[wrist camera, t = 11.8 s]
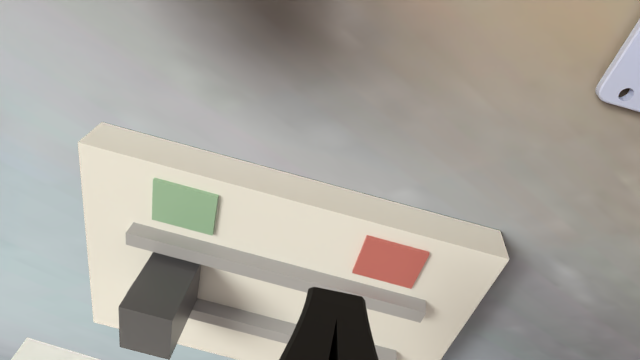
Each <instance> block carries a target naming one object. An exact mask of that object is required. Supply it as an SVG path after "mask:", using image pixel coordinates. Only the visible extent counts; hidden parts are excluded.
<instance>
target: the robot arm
mask: <svg viewBox="0 0 640 360" xmlns="http://www.w3.org/2000/svg"><path fill="white" fill-rule="evenodd" d="M626 88H629V92H628V93H627V94H626V95H625V96H622V97H618V96H619V93H620V92H621V91H622V90H623V89H626ZM596 94H597V96H598V97H599V98H600V99H601V100H602V101H604V102H606V103H610V104H613V105H617V106H620V107H624V108H627V109H631V110H634V111H638V112H640V19H639V21H638V22H637V24H636V25H635V27H634V28H633V30H632V31H631V33H630V35H629V36H628V38H627V39H626V41H625V42H624V44H623V45H622V47H621V49H620V50H619V52H618V53H617V55H616V56H615V58H614V60H613V61H612V63H611V64H610V66H609V67H608V69H607V70H606V72H605V74H604V75H603V77H602V78H601V80H600V81H599V83H598V85H597V87H596ZM279 360H379V359H378V356H377V352H376V349H375V345H374V341H373V337H372V333H371V329H370V324H369V320H368V315H367V309H366V303H365V300H364V298H363V297H362V296H357V295H352V294H347V293H343V292H338V291H333V290H328V289H323V288H318V287H311V288H309V289H308V292H307V296H306V301H305V304H304V307H303V310H302V313H301V315H300V318H299V320H298V322H297V325H296V327H295V329H294V331H293V334H292V336H291V338H290V340H289V342H288V343H287V345H286V347H285V349H284V351H283V353H282V355H281V357H280V359H279Z"/></svg>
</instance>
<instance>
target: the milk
mask: <svg viewBox="0 0 640 360" xmlns="http://www.w3.org/2000/svg"><path fill="white" fill-rule="evenodd" d="M11 360H100V359H97V358H93V357H90V356H87V355H84V354H80V353H77V352H74V351H70V350H67V349H64V348H60V347H57V346H54V345H50V344H47V343H44V342H41V341H37V340H34V339H31V338H26V340H25V341H24V343H23V344H22V345H21V347H20V348H19V349H18V351H17V352H16V354H15V355H14V356H13V358H12V359H11Z"/></svg>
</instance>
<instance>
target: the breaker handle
mask: <svg viewBox="0 0 640 360" xmlns="http://www.w3.org/2000/svg"><path fill="white" fill-rule="evenodd" d="M200 271H201V264H197V263H193V262H189V261H186V260H182V259H178V258H174V257H170V256H167V255H163V254H159V253H155V252H153V253H152V255H151V256H150V258H149V259H148V261H147V262H146V264H145V266H144V267H143V269H142V270H141V272H140V274H139V275H138V277H137V278H136V280H135V281H134V283H133V285H132V286H131V288H130V289H129V291H128V292H127V294H126V296H125V297H124V299H123V300H122V302H121V303H120V305H119V307H118V309H119V337H120V347H122V348H126V349H130V350H134V351H138V352H142V353H145V354H149V355H153V356H157V357H161V358H165V359H169V360H170V358H171V355H172V353H173V351H174V349H175V347H176V344H177V342H178V340H179V338H180V336H181V333H182V331H183V329H184V327H185V325H186V323H187V320H188V318H189V316H190V314H191V312H192V309H193V307H194V305H195V303H196V301H197V296H198V288H199V280H200Z"/></svg>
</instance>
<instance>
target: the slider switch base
mask: <svg viewBox="0 0 640 360" xmlns="http://www.w3.org/2000/svg"><path fill="white" fill-rule="evenodd" d="M78 150H79V162H80V173H81V184H82V196H83V207H84V218H85V230H86V241H87V252H88V263H89V275H90V286H91V297H92V309H93V320H94V322H95V323H99V324H103V325H106V326H110V327H114V328H118V329H119V309H118V307H119V305H120V303H121V302H122V300H123V299H124V297H125V296H126V294H127V292H128V291H129V289H130V288H131V286H132V285H133V283H134V281H135V280H136V278H137V277H138V275H139V274H140V272H141V270H142V269H143V267H144V266H145V264H146V262H147V261H148V259H149V258H150V256H151V255H152V253H153V252H155V253H159V254H163V255H167V256H170V257H174V258H178V259H182V260H186V261H189V262H193V263H197V264H201V271H200V280H199V288H198V296H197V301H196V303H195V305H194V307H193V309H192V312H191V314H190V316H189V318H188V320H187V323H186V325H185V327H184V329H183V331H182V333H181V336H180V338H179V340H178V342H177V344H180V345H184V346H187V347H191V348H195V349H199V350H203V351H207V352H211V353H214V354H218V355H222V356H226V357H230V358H234V359H237V360H279V359H280V357H281V355H282V353H283V351H284V349H285V347H286V345H287V343H288V342H289V340H290V338H291V336H292V334H293V331H294V329H295V327H296V325H297V322H298V320H299V318H300V315H301V313H302V310H303V307H304V304H305V301H306V296H307V292H308V289H309V288H311V287H318V288H323V289H328V290H333V291H338V292H343V293H347V294H352V295H357V296H362V297H363V298H364V300H365V303H366V309H367V315H368V320H369V324H370V329H371V333H372V337H373V341H374V345H375V349H376V352H377V356H378V359H379V360H441V358H442V357H443V355H444V354H445V352H446V351H447V350H448V348H449V347H450V345H451V344H452V342H453V341H454V339H455V338H456V336H457V335H458V334H459V332H460V331H461V329H462V328H463V326H464V325H465V323H466V322H467V320H468V319H469V318H470V316H471V315H472V313H473V312H474V310H475V309H476V307H477V306H478V304H479V303H480V302H481V300H482V299H483V297H484V296H485V294H486V293H487V291H488V290H489V288H490V287H491V285H492V284H493V283H494V281H495V280H496V278H497V277H498V275H499V274H500V272H501V271H502V269H503V268H504V267H505V265H506V264H507V262H508V261H509V256H508V253H507V250H506V247H505V244H504V241H503V238H502V235H501V231H499V230H495V229H492V228H488V227H484V226H481V225H477V224H473V223H470V222H466V221H462V220H459V219H455V218H451V217H448V216H444V215H440V214H437V213H433V212H429V211H426V210H422V209H418V208H415V207H411V206H407V205H404V204H400V203H396V202H393V201H389V200H385V199H382V198H378V197H374V196H371V195H367V194H363V193H360V192H356V191H353V190H349V189H345V188H342V187H338V186H334V185H331V184H327V183H323V182H320V181H316V180H312V179H309V178H305V177H301V176H298V175H294V174H290V173H287V172H283V171H279V170H276V169H272V168H268V167H265V166H261V165H257V164H254V163H250V162H246V161H243V160H239V159H235V158H232V157H228V156H224V155H221V154H217V153H213V152H210V151H206V150H202V149H199V148H195V147H191V146H188V145H184V144H180V143H177V142H173V141H169V140H166V139H162V138H158V137H155V136H151V135H147V134H144V133H140V132H136V131H133V130H129V129H125V128H122V127H118V126H115V125H111V124H107V123H104V122H101V123H100V124H99V125H98V126H96V127H95V128H94V129H93V130H92V131H91V132H89V133H88V134H87V135H86V136H85V137H83V138H82V139H81V140H80V141H79V142H78Z"/></svg>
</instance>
